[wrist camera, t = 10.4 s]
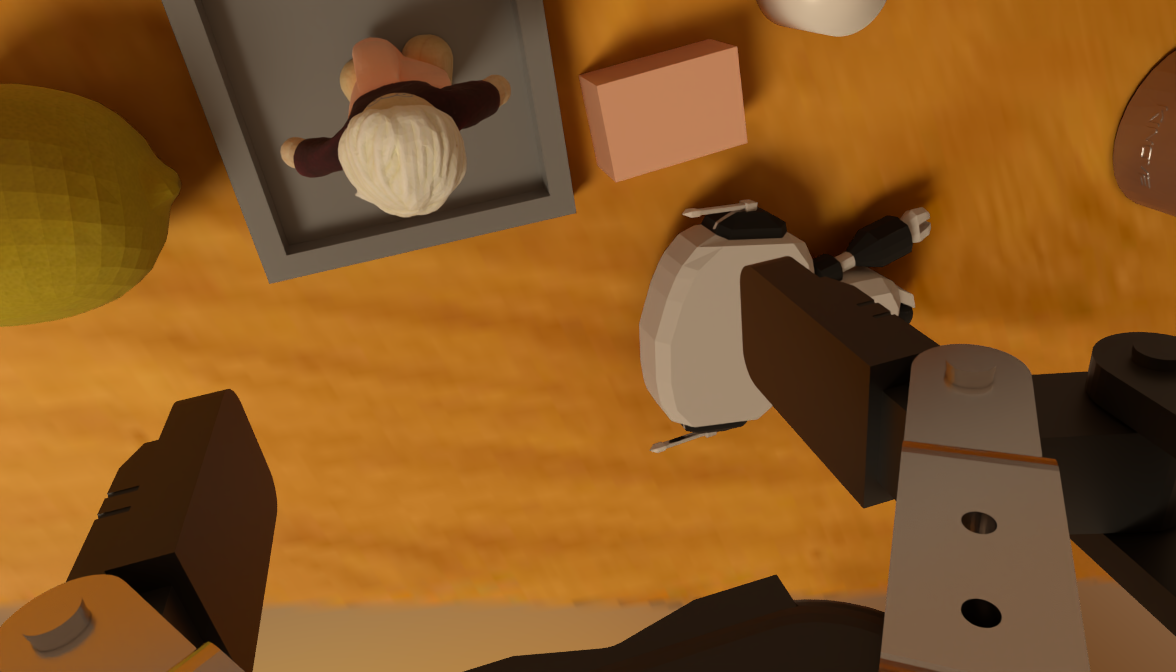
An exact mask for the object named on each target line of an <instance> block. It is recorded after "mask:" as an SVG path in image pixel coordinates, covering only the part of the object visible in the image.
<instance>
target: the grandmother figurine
mask: <svg viewBox="0 0 1176 672" xmlns="http://www.w3.org/2000/svg"><path fill="white" fill-rule="evenodd" d="M352 56H353V59H352V60H350V61H349V62H347V63H346V64H345V65H344V67H343V69H342V71H341V73H340V86H341V89H342V91H343V93H344V94H345V96H346V97H347V99H348V100H349V102H350V104H349V114H348V120H347V121H346V123H345V125H344V126H343V127H342V129H340V130H339V131H338V132H337V133H336V134H335V135H334V137H332V138H327V137H320V138H308V139H303V138H300V137H291V138H289V139H287V140H286V141H285V142H284V143H283V145H282V146H281V151H280V152H281V157H282V159H283V161H284V162H285V163H286V164H287V165H288V166H290V167H292V168H295V169H296V170H297V172H298V173H299V174H300V175H302V176H305V177H309V178H316V177H322V176H326V175H328V174H330V173H333V172H337V171H342V170H344V172H345V174H346V176H347V178H348V179H349V181H350V182H351V184H352V185H353V186H354V187H355V188H356V189H357V193H356V194H355V196H357V197H360V198H361V199H364V200H366V201H368V202H370V203H373V204H375V205H376V206H377V207H379V208H380V209H381V210H383V211H384V212H386V213H389V214H392V215H397V216H400V217H411V216H415V215H426V214H429V213H431V212H434V211H436V210H438V209H439V208H440V207H441V206H442V205H443V204H444V203H445V201H446V200H447V198H448V196H449V195H450V194H451V193H452V191H453V190H455V188H456V187H457V186H458V185H459V184H460V182H461V181H462V179H463V177H464V175H465V173H466V166H467V159H466V153H465V148H464V141H463V138H462V136H461V134H460V132H459V131H460V130H461V129H466V128H469V127H472V126H475V125H476V124H478V123H479V122H481V121H482V120H484V119H486V118H488V117H490V116H491V115H493V114H495V113H496V112H497V110H498V108H499V107H500V106H501V105H503V104H505V103H506V102H507V101H508V100H509V98H510V95H511V87H510V84H509V82H508V81H507V80H506V79H505V78H504V77H503V76H500V75H490V76H488V77H487V78H485V79H483V80H479V81H468V82H463V83H457V84H454V85H452V74H453V54H452V51H451V48H450V47H449V45H448V44H447V42H445V41H444V40H443V39H442V38H440V37H438V36H435V35H431V34H427V35H417V36H415V37H413V38H411V39H410V40H409V41H408V42H407V43H406V44H405V46H404V48H403V51H402V53H401V52H400V51H399V50H398V49H397V48H396V47H395V46H394V45H393V44H392V43H390V42H389V41H387V40H385V39H381V38H371V37H370V38H366V39H363V40H361V41H359V42H358V43H356V44H355V45H354V47H353V50H352Z"/></svg>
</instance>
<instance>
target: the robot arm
mask: <svg viewBox="0 0 1176 672" xmlns="http://www.w3.org/2000/svg"><path fill="white" fill-rule="evenodd" d="M1113 165H1114V175H1115V177H1116V180H1117V183H1118V186H1119V188H1120V189H1121V190H1122V192H1123V193H1124V194H1125V196H1126V197H1127V198H1129V199H1130V200H1132V201H1133V202H1135V203H1137V204H1140V205H1143V206H1146V207H1149V208H1152V209H1155V210H1158V211H1160V212H1163V213H1166V214H1169V215H1172V216H1175V217H1176V51H1174V52H1173V53H1171V54H1170V55H1168V56H1167V57H1166V58H1165V59H1164V60H1163V61H1162V62H1161V63H1160V64H1159V65H1158V66H1157V67H1155V68H1154V69H1153V70H1152V72H1151V73H1150V74H1149V75H1148V76H1147V78H1146V79H1145V80H1144V81H1143V83H1142V84H1141V85H1140V86H1139V88H1138V89H1137V91H1136V93H1135V94H1134V96H1133V98H1132V99H1131V101H1130V103H1129V104H1128V106H1127V108H1126V111H1125V113H1124V115H1123V117H1122V120H1121V122H1120V125H1119V128H1118V132H1117V135H1116V139H1115V144H1114V153H1113ZM740 299H741V321H742V343H743V355H744V360H745V364H746V368H747V371H748V373H749V376H750V378H751V380H752V382H753V383H754V385H755V386H756V387H757V388H758V390H759V391H760V392H761V393H762V394H763V395H764V396H765V398H766V399H767V400H768V401H769V402H770V403H771V404H772V405H773V407H774V408H775V409H776V410H777V411H778V412H779V413H780V415H781V416H782V417H783V418H784V419H785V420H786V421H787V422H788V424H789V425H790V426H791V427H792V428H793V429H794V430H795V431H796V433H797V434H798V435H799V436H800V437H801V438H802V439H803V441H804V442H805V443H806V444H807V445H808V446H809V447H810V448H811V450H812V451H813V452H814V453H815V454H816V455H817V456H818V458H819V459H820V460H821V461H822V462H823V463H824V464H825V465H826V467H827V468H828V469H829V470H830V471H831V472H832V473H833V474H834V476H835V477H836V478H837V479H838V480H839V481H840V482H841V484H842V485H843V486H844V487H845V488H846V489H847V490H848V491H849V493H850V494H851V495H852V496H853V497H854V498H855V499H856V501H857V502H858V503H859V504H860V505H861V506H862V507H863V508H867V507H870V506H873V505H877V504H880V503H883V502H887V501H890V500H893V499H895V500H896V511H895V520H894V530H893V540H892V549H891V559H890V569H889V578H888V588H887V598H886V608H885V612H882V611H879V610H876V609H873V608H869V607H865V606H860V605H856V604H851V603H846V602H838V601H830V600H793V599H792V598H791V596H790V595H789V593H788V591H787V590H786V588H785V587H784V585H783V584H782V582H781V581H780V579H779V578H778V576H777V575H773V576H770V577H767V578H764V579H760V580H757V581H754V582H751V583H747V584H744V585H741V586H738V587H735V588H731V589H728V590H725V591H722V592H718V593H715V594H712V595H709V596H706V597H702V598H699V599H696V600H693V601H692V602H690V603H688V604H686V605H685V606H683V607H681V608H680V609H678V610H676V611H674V612H673V613H671V614H669V615H668V616H666V617H664V618H662V619H661V620H659V621H657V622H655V623H654V624H652V625H650V626H649V627H647V628H645V629H643V630H642V631H640V632H638V633H637V634H635V635H633V636H631V637H630V638H628V639H626V640H625V641H623V642H621V643H619V644H617V645H615V646H612V647H608V648H602V649H591V650H579V651H568V652H557V653H545V654H533V655H522V656H512V657H509V658H506V659H503V660H500V661H496V662H493V663H490V664H487V665H483V666H480V667H477V668H474V669H470V670H467V671H464V672H1090V666H1089V660H1088V653H1087V647H1086V641H1085V634H1084V627H1083V621H1082V614H1081V608H1080V602H1079V595H1078V588H1077V582H1076V575H1075V569H1074V562H1073V556H1072V549H1071V543H1070V539H1071V540H1072V541H1073V542H1074V543H1075V544H1077V545H1078V546H1079V547H1080V548H1081V549H1082V550H1083V551H1084V552H1085V553H1086V554H1087V555H1088V556H1089V557H1091V558H1092V559H1093V560H1094V561H1095V562H1096V563H1097V564H1098V565H1099V566H1100V567H1101V568H1102V569H1104V570H1105V571H1106V572H1107V573H1108V574H1109V575H1110V576H1111V577H1112V578H1113V579H1114V580H1115V581H1116V582H1118V583H1119V584H1120V585H1121V586H1122V587H1123V588H1124V589H1125V590H1126V591H1127V592H1128V593H1129V594H1131V595H1132V596H1133V597H1134V598H1135V599H1136V600H1137V601H1138V602H1139V603H1140V604H1141V605H1142V606H1143V607H1145V608H1146V609H1147V610H1148V611H1149V612H1150V613H1151V614H1152V615H1153V616H1154V617H1155V618H1157V619H1158V620H1159V621H1160V622H1161V623H1162V624H1163V625H1164V626H1165V627H1166V628H1167V629H1168V630H1169V631H1170V632H1172V633H1173V634H1174V635H1175V636H1176V336H1171V335H1166V334H1159V333H1148V332H1129V333H1120V334H1115V335H1111V336H1108V337H1105V338H1103V339H1101V340H1100V341H1098V342H1097V343H1096V344H1095V346H1094V347H1093V351H1092V356H1091V360H1090V365H1089V370H1088V372H1072V373H1056V374H1040V375H1031V372H1030V370H1029V369H1028V368H1027V366H1026V365H1025V364H1024V363H1023V362H1021V361H1020V360H1019V359H1017V358H1016V357H1014V356H1012V355H1010V354H1008V353H1005V352H1003V351H1000V350H997V349H993V348H990V347H985V346H980V345H971V344H950V345H943V346H940V345H938V344H937V343H936V342H934V341H933V340H931V339H930V338H928V337H927V336H926V335H924V334H923V333H921V332H920V331H918V330H917V329H915V328H914V327H913V326H911V325H910V324H908V323H907V322H905V321H904V320H903V319H901V318H900V317H898V316H897V315H895V314H893V315H891V311H890V310H888V309H887V308H885V307H884V306H883V305H881V304H880V303H875V302H874V299H873V298H871V297H870V296H868V295H867V294H865V293H864V292H862V291H861V290H860V289H858V288H857V287H855V286H854V285H850V284H847V283H844V282H841V281H838V280H835V279H832V278H829V277H826V276H825V277H821V278H820V277H818V276H817V275H815V274H814V273H813V272H811V271H810V270H809V269H807V268H806V267H805V266H803V265H802V264H800V263H799V262H798V261H796V260H795V259H794V258H792V257H790V256H784V257H780V258H776V259H772V260H768V261H763V262H759V263H755V264H751V265H747V266H744V267H743V269H742V271H741V274H740ZM107 494H108V498H106V499H105V500H104V502H103V504H102V506H101V508H100V510H99V512H98V514H97V515H98V519H97V520H95V521H94V523H93V525H92V527H91V529H90V532H89V534H88V536H87V538H86V540H85V542H84V544H83V546H82V549H81V551H80V553H79V555H78V557H77V559H76V561H75V564H74V566H73V568H72V570H71V572H70V574H69V576H68V578H67V581H66V583H63V584H60V585H58V586H56V587H54V588H52V589H50V590H48V591H46V592H44V593H43V594H41V595H39V596H37V597H36V598H34V599H33V600H31V601H30V602H28V603H27V604H25V605H24V606H23V607H21V608H20V609H19V610H18V611H16V612H15V613H14V614H13V615H12V616H11V617H9V618H8V619H7V620H6V621H5V622H4V623H3V624H2V625H1V627H0V672H252V671H253V665H254V658H255V652H256V645H257V639H258V632H259V626H260V620H261V613H262V607H263V600H264V594H265V587H266V581H267V574H268V568H269V561H270V555H271V548H272V542H273V535H274V529H275V522H276V516H277V497H276V491H275V486H274V482H273V478H272V475H271V472H270V470H269V467H268V465H267V463H266V460H265V458H264V456H263V453H262V451H261V449H260V446H259V444H258V442H257V439H256V437H255V435H254V432H253V430H252V428H251V425H250V423H249V421H248V418H247V416H246V414H245V411H244V409H243V407H242V404H241V402H240V400H239V398H238V397H237V395H236V394H235V393H234V391H232V390H231V389H226V390H222V391H218V392H214V393H210V394H205V395H201V396H197V397H193V398H189V399H185V400H180V401H177V402H175V403H174V405H173V407H172V409H171V411H170V414H169V416H168V419H167V421H166V423H165V426H164V428H163V431H162V433H161V435H160V438H159V440H156V441H152V442H148V443H144V444H143V445H142V446H141V447H140V448H139V449H138V450H137V451H136V452H135V453H134V454H133V455H132V456H131V457H130V458H129V459H128V460H127V461H126V462H125V463H124V464H123V465H122V466H121V467H120V468H119V470H118V472H117V474H116V476H115V478H114V480H113V482H112V485H111V487H110V489H109V491H108V493H107Z"/></svg>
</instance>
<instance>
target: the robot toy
mask: <svg viewBox="0 0 1176 672" xmlns="http://www.w3.org/2000/svg"><path fill="white" fill-rule="evenodd" d="M757 204H758V202H755V201H752V200H750V199H748V200H740V201H739V204H732V205H724V206H716V207H708V208H701V209H696V208H690V209H686V210H685V211H684V212H683V214H682V215H685V216H688V217H690V218H694V217H700V215H706V214H708V215H706V216H705V218H704V220H703V221H702V223H701V224H700V225H694V226H692V227H690V228H688V229H686V230H684V231H683V232H681V233H679V234H678V235H677V237H676V238H675V239H674V240H673V242H672V243H671V244H670V245H669V247H668V248H667V249H666V250H665V252H664V254H663V255H662V257H661V259H660V261H659V263H658V266H657V268H656V271H655V273H654V276H653V278H652V281H651V283H650V286H649V290H648V294H647V297H646V301H645V305H644V308H643V312H642V316H641V319H640V323H639V332H640V357H641V366H642V372H643V377H644V381H645V384H646V387H647V389H648V391H649V392H650V394H651V395H652V396H653V398H654V399H655V401H656V402H657V403H658V405H659V406H660V407H661V408H662V410H663V411H664V412H665V413H666V415H667V416H668V417H669V418H670V420H671V421H674V422H678V423H680V424H681V425H682V426H683V427H684V428H685V430H686V431H690V432H693V433H690V434H687V435H684V436H681V437H678V438H675V439H672V440H669V441H666V442H663V443H662V442H659V443H656V444H653V446H652V447H651V449H650V451H653V452H656V453H659V452H662V451H665V450H666V448H669V447H672V446H675V445H678V444H681V443H684V442H687V441H690V440H693V439H695V438H698V437H701V436H706V437H707V438H708V437H711V436H713V435H716V433H717V432H719V431H726V430H729V429H732V428H736V427H741V426H743V425H744V424H745V423H746V422H747V420H755V419H758V418H760V417H761V416H762V415H763V414H764V413H765V412H766V411H768V410H769V409H770V408H771V407H772V406H773V405H772V404H771V403H770V402H769V401H768V400H767V399H766V398H765V396H764V395H763V394H762V393H761V392H760V391H759V390H758V388H757V387H756V386H755V385H754V383H753V382H752V380H751V378H750V376H749V373H748V371H747V368H746V364H745V360H744V355H743V343H742V321H741V299H740V274H741V271H742V269H743V267H744V266H747V265H751V264H755V263H759V262H763V261H768V260H772V259H776V258H780V257H784V256H790V257H792V258H794V259H795V260H796V261H798V262H799V263H800V264H802V265H803V266H805V267H806V268H807V269H809V270H810V271H811V272H813V273H814V274H815V275H817V276H818V277H820V278H821V277H825V276H826V277H829V278H832V279H835V280H838V281H841V282H844V283H847V284H850V285H854V286H855V287H857V288H858V289H860V290H861V291H862V292H864V293H865V294H867V295H868V296H870V297H871V298H873V299H874V302H875V303H880V304H881V305H883V306H884V307H885V308H887V309H888V310H890V311H891V315H893V314H895V315H897V316H898V317H900V318H901V319H903V320H904V321H905V322H907V323H908V324H909V323H910V322H911V320H912V317H913V310H912V307H914V308H915V303H914V297H913V294H911V293H909V292H907V291H906V290H904V289H902V288H900V287H898V286H897V285H895V283H894V282H893V281H891V280H889V279H888V278H886V277H884V276H882V275H880V274H879V273H877V272H875V271H873V270H872V269H870V268H868V267H883V266H885V265H887V264H889V263H891V262H893V261H895V260H897V259H899V258H901V257H902V256H904V255H906V254H908V253H910V252H911V251H912V246H913V243H915V242H920V241H922V240H923V239H924V238H925V237H926V236H928V235H929V233H930V229H931V224H930V223H929V222H927V221H926V220H927V219H929V218H930V214H929V212H928V211H927V210H925V209H924V208H923V207H920V208H916V209H912V210H908V211H906V212H905V213H904V214H903V216H902V217H901V218H900V219H899V218H898V217H893V216H885V217H883V218H881V219H880V220H878V221H876V222H874V223H872V224H870V225H868V226H866V227H864V228H862V229H860V230H858V232H857V233H856V235H855V237H854V238H853V240H852V241H851V243H850V245H849V246H848V248H847V250H846V252H844V253H842V254H840V255H838V256H836V257H833V256H831V255H828V254H823V255H821V256H819V257H817V258H815V259H813V260H812V257H811V255H810V253H809V250H808V248H807V246H806V244H805V242H803V241H802V240H800V239H798V238H797V237H795V236H793V235H791V234H790V233H788V232H787V229H786V223H785V222H784V221H782V220H781V219H779V218H777V217H775V216H774V215H772V214H770V213H768V212H767V211H765V210H763V209H761V208H758V207H757Z"/></svg>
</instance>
